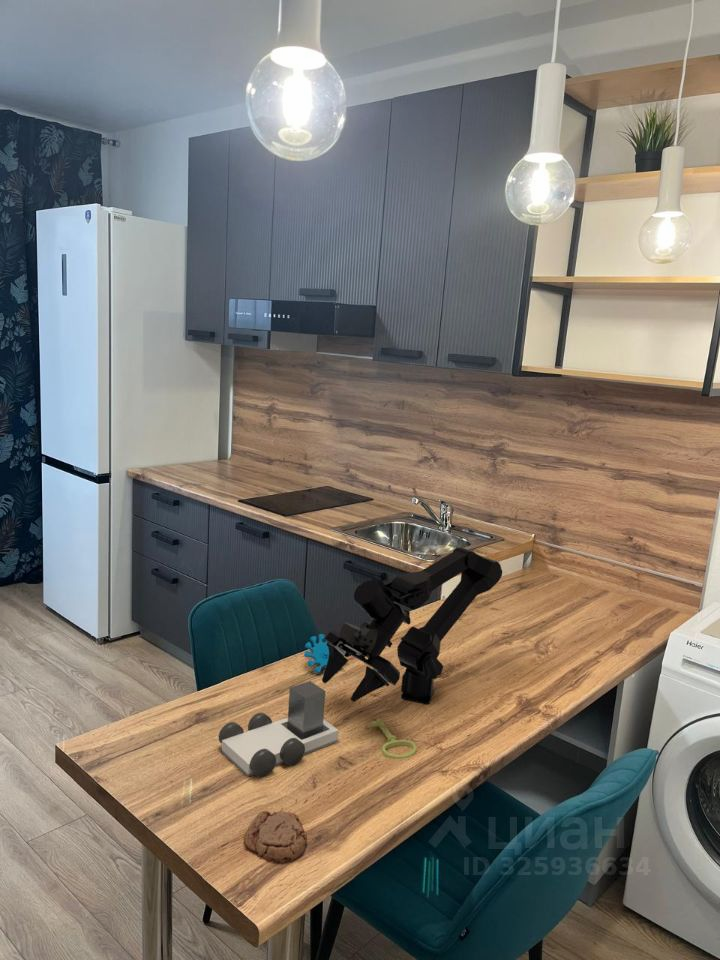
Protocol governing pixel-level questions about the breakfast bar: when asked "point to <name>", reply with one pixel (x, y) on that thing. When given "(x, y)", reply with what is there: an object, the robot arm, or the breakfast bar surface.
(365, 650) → the robot arm
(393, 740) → the key
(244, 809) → the breakfast bar surface
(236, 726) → the chassis
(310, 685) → the block
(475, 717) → the breakfast bar surface
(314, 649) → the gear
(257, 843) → the cookie
